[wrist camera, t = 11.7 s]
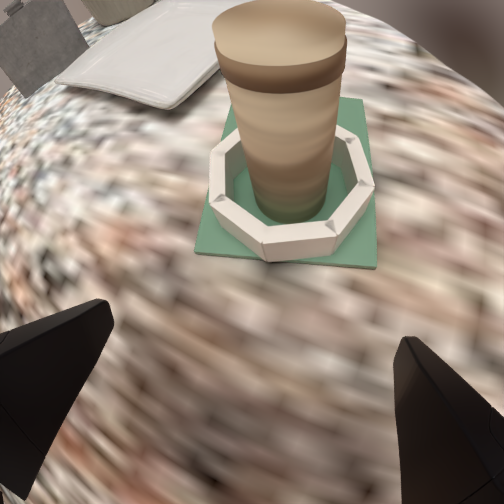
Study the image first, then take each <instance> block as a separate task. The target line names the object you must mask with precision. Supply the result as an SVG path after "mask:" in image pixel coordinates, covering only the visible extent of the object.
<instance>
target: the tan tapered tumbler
mask: <svg viewBox="0 0 504 504" xmlns="http://www.w3.org/2000/svg"><path fill="white" fill-rule="evenodd" d="M345 26H346V21H345V18H344V16H343V15H342V14H341V13H340V12H339V11H337V10H336V9H334V8H332V7H330V6H328V5H325V4H322V3H319V2H316V1H311V0H255V1H250V2H246V3H243V4H240V5H237V6H234V7H232V8H230V9H228V10H226V11H224V12H223V13H221V14H220V15H218V16H217V17H216V18H215V20H214V21H213V23H212V30H213V34H214V38H215V42H214V48H215V52H216V55H217V59H218V63H219V67H220V70H221V73H222V75H223V76H224V78H225V80H226V84H227V88H228V92H229V95H230V99H231V103H232V107H233V111H234V115H235V119H236V123H237V127H238V131H239V135H240V139H241V143H242V147H243V151H244V155H245V159H246V163H247V168H248V172H249V176H250V180H251V184H252V188H253V192H254V196H255V200H256V204H257V206H258V208H259V209H260V211H261V212H262V213H263V214H264V215H265V216H267V217H268V218H270V219H271V220H273V221H276V222H279V223H283V224H296V223H302V222H305V221H308V220H310V219H311V218H313V217H314V216H316V215H317V214H318V213H319V212H320V210H321V209H322V207H323V205H324V203H325V199H326V193H327V187H328V181H329V174H330V168H331V161H332V154H333V147H334V140H335V132H336V124H337V116H338V107H339V98H340V89H341V78H342V73H343V71H344V69H345V61H346V49H347V38H346V35H345Z"/></svg>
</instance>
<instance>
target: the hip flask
mask: <svg viewBox="0 0 504 504" xmlns="http://www.w3.org/2000/svg"><path fill="white" fill-rule="evenodd" d="M29 1H31V0H29ZM29 1H27V2H26V3H28V2H29ZM26 3H24V4H26ZM24 4H23V3H21V0H15V1H13V2H12V3H11V4H10V5H8V6H7V7H6V8H5V9H4V12H7V15H8V16H9V15H10V18H8V19H7V20H6V21H5V22H4V23H3V24H1V25H0V67H1V68H2V69H3V71H4V72H5V73H6V75H7V76H8V77H9V78H10V80H11V81H12V82H13V84H14V85H15V86H16V87H17V89H18V90H19V91H20V92H21V94H22V95H23V96H24V97H25V98H28V97H29V96H31V95H32V94H33V93H34V92H35V91H37V90H38V89H39V88H40V87H42V86H43V85H44V84H46V83H47V82H48V81H50V80H51V79H53V78H54V77H56V76H57V75H59V74H60V73H62V72H63V71H64V70H66V69H67V68H68V67H69V66H70V65H71V64H72V63H73V62H74V61H75V60H76V59H77V58H79V57H80V56H81V55H82V54H83V53H84V52H85V51H86V50H88V49H89V46H88V44H87V43H86V41H85V39H84V37H83V35H82V34H81V32H80V30H79V28H78V27H77V25H76V23H75V21H74V19H73V18H72V16H71V14H70V12H69V10H68V9H67V7H66V5H65V3H64V1H63V0H32V1H31V2H29V3H28V4H26V5H25V6H23V5H24Z"/></svg>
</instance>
